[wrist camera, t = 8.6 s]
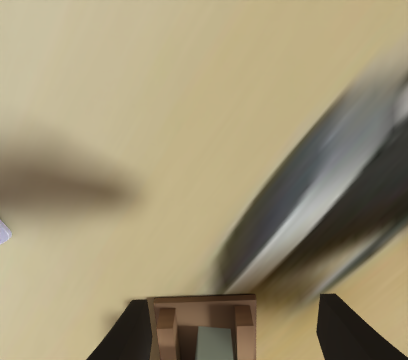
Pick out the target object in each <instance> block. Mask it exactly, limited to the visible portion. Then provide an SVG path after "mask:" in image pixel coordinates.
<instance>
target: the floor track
mask: <svg viewBox="0 0 408 360" xmlns="http://www.w3.org/2000/svg"><path fill="white" fill-rule="evenodd" d="M153 304H154V311H155V318H156V325H157V328H156V330H157V337H158V344H159V351H160V358H161V360H195V353H196V344H197V335H198V327H199V326H202V327H214V328H226V329H231V338H232V349H233V360H256V296H255V294H254V295H227V296H199V297H171V298H155V299H154V303H153Z"/></svg>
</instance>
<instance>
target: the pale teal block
mask: <svg viewBox="0 0 408 360" xmlns="http://www.w3.org/2000/svg"><path fill="white" fill-rule="evenodd" d="M195 360H233V349H232V338H231V329H226V328H214V327H202V326H199V327H198V335H197V344H196V353H195Z"/></svg>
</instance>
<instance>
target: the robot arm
mask: <svg viewBox="0 0 408 360" xmlns="http://www.w3.org/2000/svg"><path fill="white" fill-rule="evenodd" d="M11 236H12V233H11V231H10V230H9V228H8V227H7V226H6V225H5V224H4V223H3V222H2V221H1V220H0V244H2V243H4V242H5V241H7V240H8V239H10V238H11ZM316 333H317V336H318V339H319V343H320V346H321V349H322V352H323V355H324V358H325V360H408V357H406V356H405V355H404V354H403V353H401V352H400V351H399V350H398V349H396V348H395V347H394V346H393V345H391V344H390V343H389V342H388V341H387V340H385V339H384V338H383V337H382V336H381V335H380V334H378V333H377V332H376V331H375V330H374V329H373V328H372V327H371V326H369V325H368V324H367V323H366V322H365V321H364V320H363V319H362V318H361V317H360V316H359V315H358V314H356V313H355V312H354V311H353V310H352V309H351V308H350V307H349V306H348V305H347V304H346V303H345V302H344V301H343V300H342V299H341V298H339V297H338V296H337V295H336V294H320V302H319V312H318V321H317V331H316ZM151 344H152V331H151V323H150V316H149V309H148V302H147V300H132V301H131V302H130V304H129V305H128V307H127V308H126V309H125V311H124V312H123V314H122V315H121V316H120V318H119V319H118V321H117V322H116V323H115V325H114V326H113V327H112V329H111V330H110V331H109V333H108V334H107V335H106V336H105V338H104V339H103V340H102V342H101V343H100V344H99V345H98V346H97V348H96V349H95V350H94V351H93V352H92V353H91V355H90V356H89V357H88V358H87V359H86V360H149V358H150V351H151Z"/></svg>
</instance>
